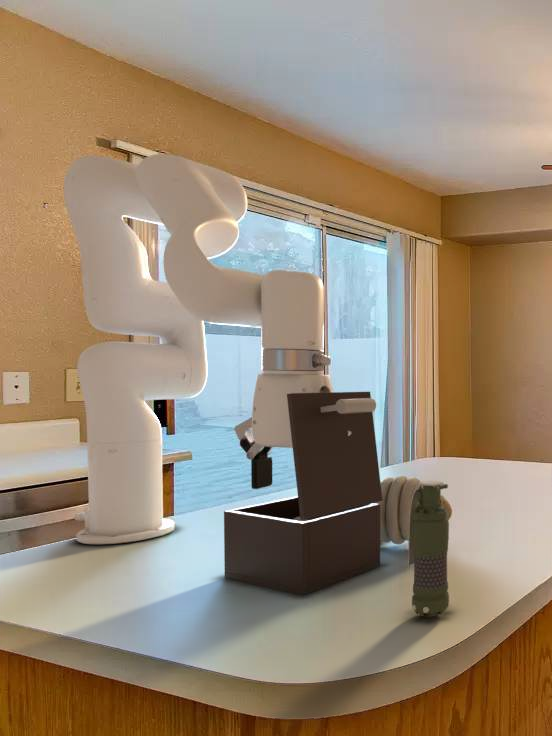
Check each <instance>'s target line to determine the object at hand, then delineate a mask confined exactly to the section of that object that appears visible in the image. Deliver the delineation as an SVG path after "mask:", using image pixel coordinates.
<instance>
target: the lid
mask: <svg viewBox="0 0 552 736" xmlns="http://www.w3.org/2000/svg"><path fill="white" fill-rule="evenodd" d="M287 401H288V410H289V419H290V428H291V437H292V446H293V448H292V454H293V455H292V456H293V463H294V475H295V483H296V492H297V496H298V501H299V510H300V520H307V519H311V518H315V517H319V516H323V515H327V514H331V513H335V512H339V511H343V510H347V509H351V508H355V507H359V506H363V505H367V504H371V503H375V502H379V501H382V492H381V483H380V482H381V476H380V475H381V474H380V466H379V465H380V464H379V457H378V448H377V439H376V431H375V421H374V411H376V408H377V402H376V400H375V399H374V398H373V397H372V396H371V391H336V392H335V391H333V392H329V393H290V394H287ZM347 431H351V434H350V435H349V436H348V434H347Z"/></svg>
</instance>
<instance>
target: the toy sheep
mask: <svg viewBox="0 0 552 736" xmlns="http://www.w3.org/2000/svg"><path fill="white" fill-rule="evenodd" d="M424 481H425V480H420V479H419V478H418V477H415V476H413V477H410V478H408V477H407V476H405V475H398V476H396V477H395V478H394V477H390V476H389V477H385V478H384V479H383V480H382V481H380V483H381V492H382V501H379V502H375V503H376V504H380V544H381V543H390V542H392V543H393V544H395V545H402V544H404V543H405V542H406V541H407V542H409V513H410V505H411V500H412V496H413V493H414V489H415V486H416V484H417V483H419V482H424ZM440 499H441V506H445V507H441V508H446V509H447V510H448V512H447V518H448V521H449V520H450V519H451V518H452V515H453V509H452V507H451V504H450V502H449V501H448V500H447V499H446V498H445V497H444V496H443V495H442V494H441V497H440Z"/></svg>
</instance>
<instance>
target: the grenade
mask: <svg viewBox="0 0 552 736" xmlns="http://www.w3.org/2000/svg"><path fill="white" fill-rule="evenodd" d="M423 481H424V482H421V481H420V482H419V483H417V484H416V486H415V489H414V493H413V496H412V500H411V505H410V513H409V541H408V566H411V565H413V585H412V593H413V594H412V596H411V609H412V610H413V612H415V614H416V615H419V616H421V617H425V618H434V617H436V616H438V615H442V614H443V613H444V612H445V611H446V610H447V609H448V608H449V605H450V594H449V592H448V590H449V581H448V550H449V539H450V522H449V520H448V518H447V512H448V510H447V509H446V508H441V507H445V506H441V499H440V497H441V495H442V492H441V491H442V490H445V489H448V488H449V484H448V483H444V482H443V481H441V480H423Z"/></svg>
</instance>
